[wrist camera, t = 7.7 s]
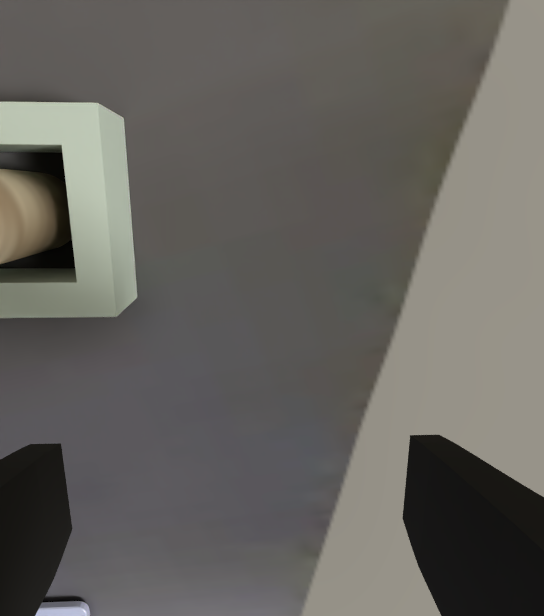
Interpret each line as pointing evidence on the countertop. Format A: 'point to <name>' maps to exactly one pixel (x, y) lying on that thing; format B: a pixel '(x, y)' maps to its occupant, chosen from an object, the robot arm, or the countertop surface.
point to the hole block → (76, 212)
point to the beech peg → (32, 214)
